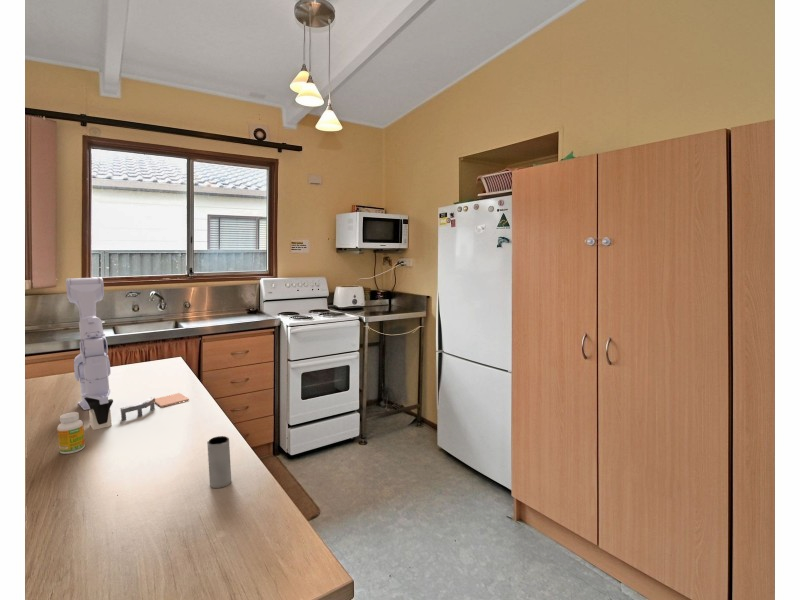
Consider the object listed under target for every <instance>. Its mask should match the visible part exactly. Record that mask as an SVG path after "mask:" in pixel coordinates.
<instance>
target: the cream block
mask: <svg viewBox="0 0 800 600" xmlns="http://www.w3.org/2000/svg"><path fill="white" fill-rule="evenodd" d="M88 415H89V425H90V427H91V428H92V430H93V431H94V430H98V429H103V428H106V427H110V426H112V413H111V409H110V410H109V414H108V420H107V423H104V424H100V425H99V424H98V422H97V419H96V416H95V413H94V410H93V409H88Z"/></svg>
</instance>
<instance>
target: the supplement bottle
mask: <svg viewBox="0 0 800 600" xmlns="http://www.w3.org/2000/svg"><path fill="white" fill-rule="evenodd" d="M79 414H80V413H79V412H78V411H71V412H67V413H63V414H61V415H60V416H59V422H60V423H59V424H58V425H57V430H56V431H57V436H58V437H57V438H58V447H59V453H60V454H63V455H68V454H69V455H70V454H74V453H77V452H80V451H81V450H83V449H84V448H85V446H86V440H85V432H84V423H83V420H81V419H80V415H79Z"/></svg>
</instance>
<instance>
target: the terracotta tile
mask: <svg viewBox="0 0 800 600" xmlns="http://www.w3.org/2000/svg"><path fill="white" fill-rule="evenodd" d="M187 400H189V401H190V398H189V397H186V396H185V395H184V394H182V393H180V392H178V393H173V394H169V395H165V396H161V397H157V398H156V397H155V403H154V404H156V405H157V406H158V405H159V407H160V408H165V407H168V406H167V405H169V406H172V405H171V404H173V405H176V404H175V403H177V404H180V403H179V402H181V403H184V402H183V401H185V402H188V401H187ZM164 406H165V407H164Z"/></svg>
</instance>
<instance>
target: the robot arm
mask: <svg viewBox="0 0 800 600" xmlns="http://www.w3.org/2000/svg"><path fill="white" fill-rule="evenodd" d="M65 288H66V297H67V300H68V302H69V303H71V304H75V306H76V307H77V308H78V313H79V321H78V328H79V336H80V337H79V338H80V340H79V352H80V353H79V354H77V356H75V357H74V358H73V362H74V363H73V369H74V371H73V372H74V379H75V381H77V382H79V385H80V386H79V387H80V388H79V389H80V397H81V398H80V399H81V401H78V402H77V403H78V404H77V405H79V406H80V408H82V409H83V411H87V410H90V409H93V410H94V413H95V416H96V419H97V422H98V424H99V425H100V424H104V423H107V420H108V414H109V410H110V411H111V407H112V405H113V403H114V399H113V398H111V399H109V396H110V394H111V389H110V383H109V376H110V375H111V372H112V371H111V364H110V359H109V355H108V353H109V347H108V341H107V338H106V334H105V333H104V328H103V321H102V319H101V318H99V317H97V303H98V302H99V303H100V302H101V301H103V298H104V294H105V285H104V279H103V277H101V276H98V277H79V278H78V277H76V278H73V277H72V278H68V277H67V278H65Z"/></svg>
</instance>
